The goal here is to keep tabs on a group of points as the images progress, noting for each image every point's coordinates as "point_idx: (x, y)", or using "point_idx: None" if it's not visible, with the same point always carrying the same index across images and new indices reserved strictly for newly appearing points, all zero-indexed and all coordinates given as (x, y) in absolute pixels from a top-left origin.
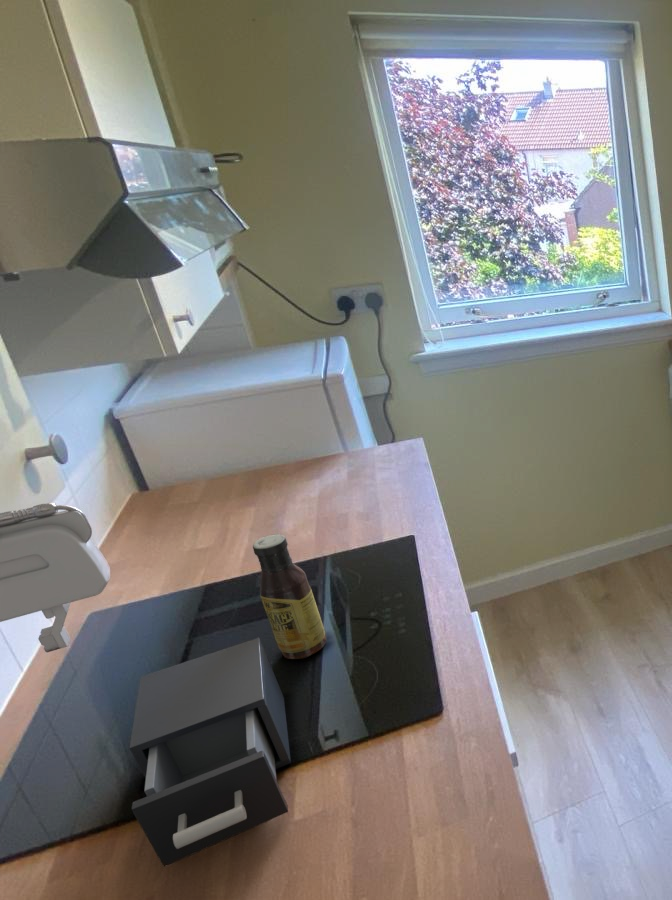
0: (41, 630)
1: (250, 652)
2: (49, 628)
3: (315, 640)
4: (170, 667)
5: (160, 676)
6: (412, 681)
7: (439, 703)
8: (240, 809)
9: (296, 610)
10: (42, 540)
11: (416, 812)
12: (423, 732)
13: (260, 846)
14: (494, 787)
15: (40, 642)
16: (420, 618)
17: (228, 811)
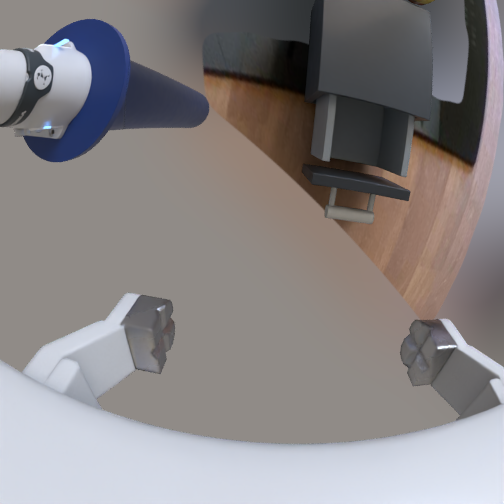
0: (434, 355)
1: (424, 28)
2: (445, 353)
3: (428, 2)
4: None
5: None
6: (471, 109)
7: (475, 153)
8: (372, 221)
9: None
10: None
11: (428, 245)
12: (460, 174)
13: (356, 195)
14: (458, 260)
15: (409, 376)
16: (484, 42)
17: (365, 216)
